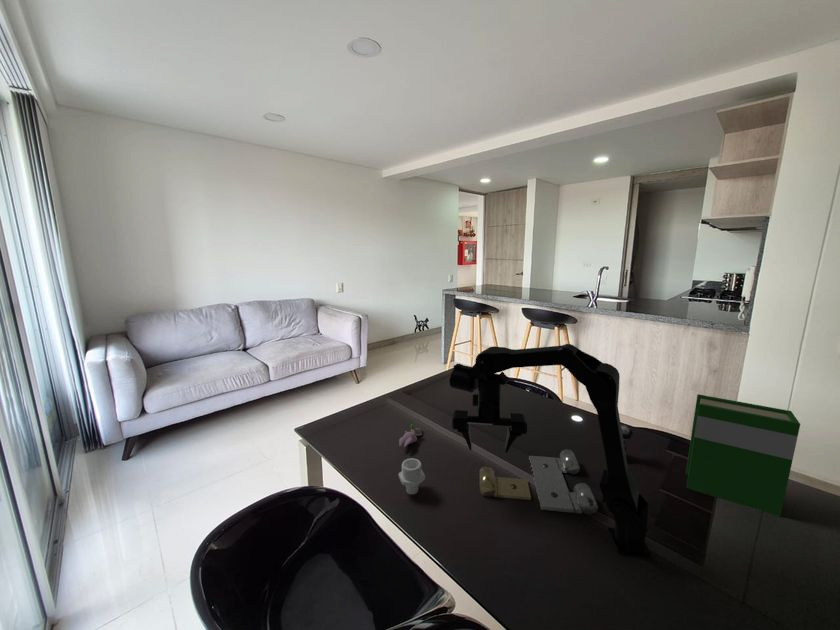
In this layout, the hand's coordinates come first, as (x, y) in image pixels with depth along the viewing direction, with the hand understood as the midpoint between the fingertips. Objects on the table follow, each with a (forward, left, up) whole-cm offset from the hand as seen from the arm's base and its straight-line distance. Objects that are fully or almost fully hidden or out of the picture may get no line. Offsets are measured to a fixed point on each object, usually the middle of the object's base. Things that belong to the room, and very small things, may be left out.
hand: (488, 450), depth 92 cm
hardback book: (+6, -62, -11) cm, 63 cm away
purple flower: (+19, +25, -11) cm, 33 cm away
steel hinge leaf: (+4, -19, -11) cm, 23 cm away
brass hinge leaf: (0, -4, -11) cm, 12 cm away
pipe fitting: (-4, +20, -11) cm, 23 cm away
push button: (+18, -40, -11) cm, 45 cm away
